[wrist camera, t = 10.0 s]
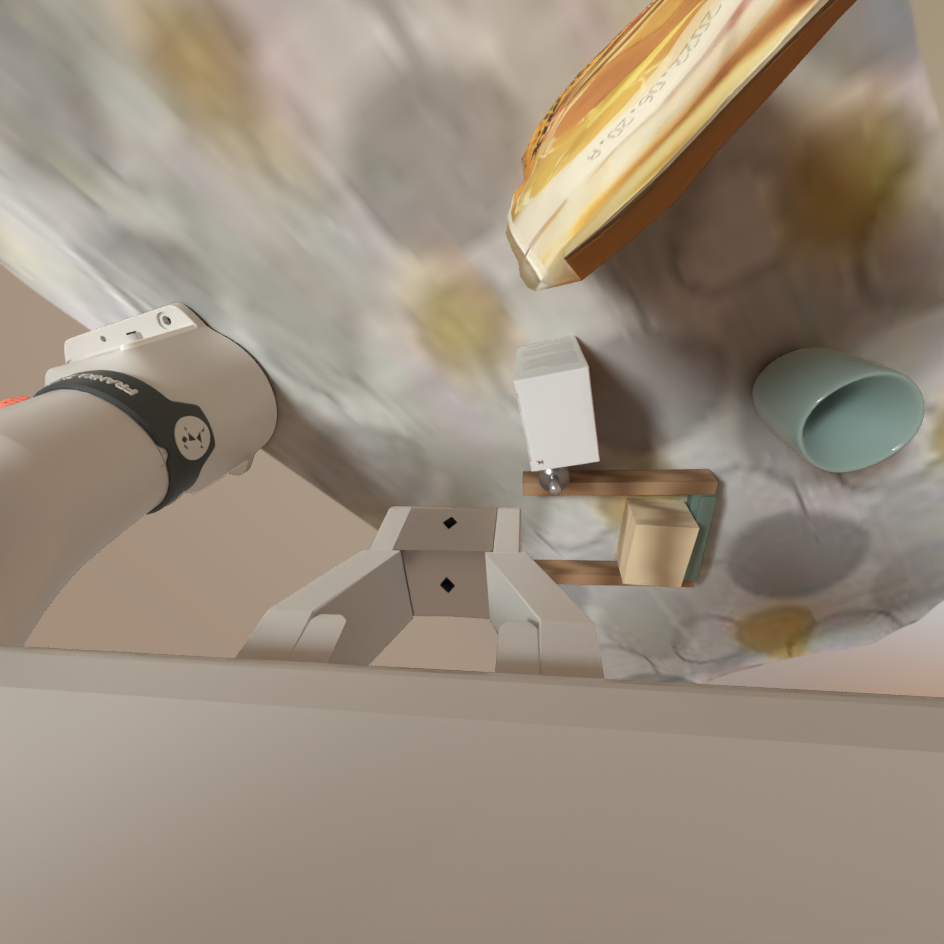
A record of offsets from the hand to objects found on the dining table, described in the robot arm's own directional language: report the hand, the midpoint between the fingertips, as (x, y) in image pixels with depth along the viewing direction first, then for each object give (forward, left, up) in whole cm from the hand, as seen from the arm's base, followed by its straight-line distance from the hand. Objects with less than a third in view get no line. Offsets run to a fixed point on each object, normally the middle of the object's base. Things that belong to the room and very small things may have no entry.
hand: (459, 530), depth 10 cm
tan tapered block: (+15, -25, -33) cm, 44 cm away
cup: (+25, -8, -33) cm, 42 cm away
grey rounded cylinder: (+4, -15, -33) cm, 36 cm away
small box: (+4, -7, -33) cm, 34 cm away
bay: (+10, -24, -33) cm, 42 cm away
